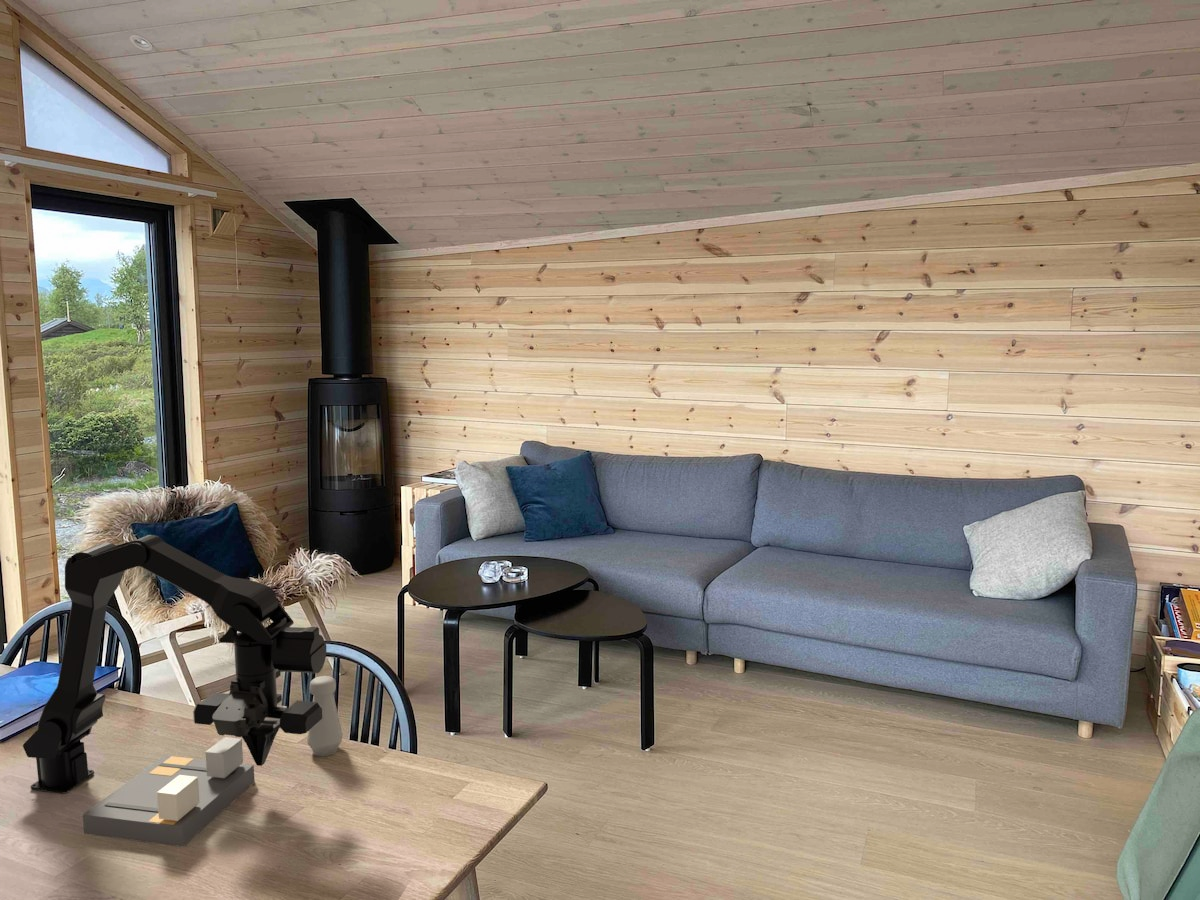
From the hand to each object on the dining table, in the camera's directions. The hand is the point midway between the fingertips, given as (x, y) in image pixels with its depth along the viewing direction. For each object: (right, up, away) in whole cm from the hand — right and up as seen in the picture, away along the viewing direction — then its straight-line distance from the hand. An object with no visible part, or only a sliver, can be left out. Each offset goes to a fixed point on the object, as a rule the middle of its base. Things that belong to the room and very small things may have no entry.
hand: (260, 764), depth 143 cm
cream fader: (-8, -3, -10) cm, 13 cm away
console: (-12, -5, -3) cm, 14 cm away
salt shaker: (+6, -3, +15) cm, 16 cm away
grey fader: (-6, -1, +1) cm, 6 cm away
